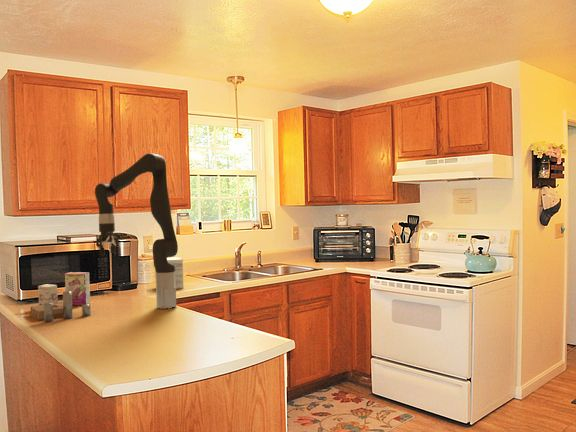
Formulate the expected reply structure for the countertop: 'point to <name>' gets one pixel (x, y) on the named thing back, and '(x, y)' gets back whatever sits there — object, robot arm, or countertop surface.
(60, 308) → the hole board
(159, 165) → the robot arm
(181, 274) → the supplement box
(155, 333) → the countertop surface
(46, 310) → the medium pin
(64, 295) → the long pin
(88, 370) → the countertop surface
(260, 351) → the countertop surface
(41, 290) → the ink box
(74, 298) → the candy bar box
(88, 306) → the short pin
